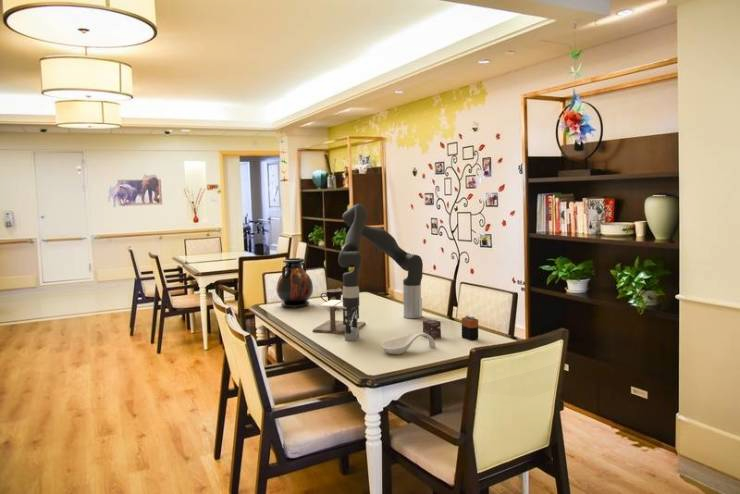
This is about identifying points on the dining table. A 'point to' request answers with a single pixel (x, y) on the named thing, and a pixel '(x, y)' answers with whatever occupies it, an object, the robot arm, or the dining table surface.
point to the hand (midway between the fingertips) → (351, 331)
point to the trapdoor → (333, 304)
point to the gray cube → (352, 334)
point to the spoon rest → (404, 343)
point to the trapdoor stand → (334, 324)
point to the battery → (470, 328)
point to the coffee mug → (333, 295)
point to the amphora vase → (294, 284)
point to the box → (432, 328)
